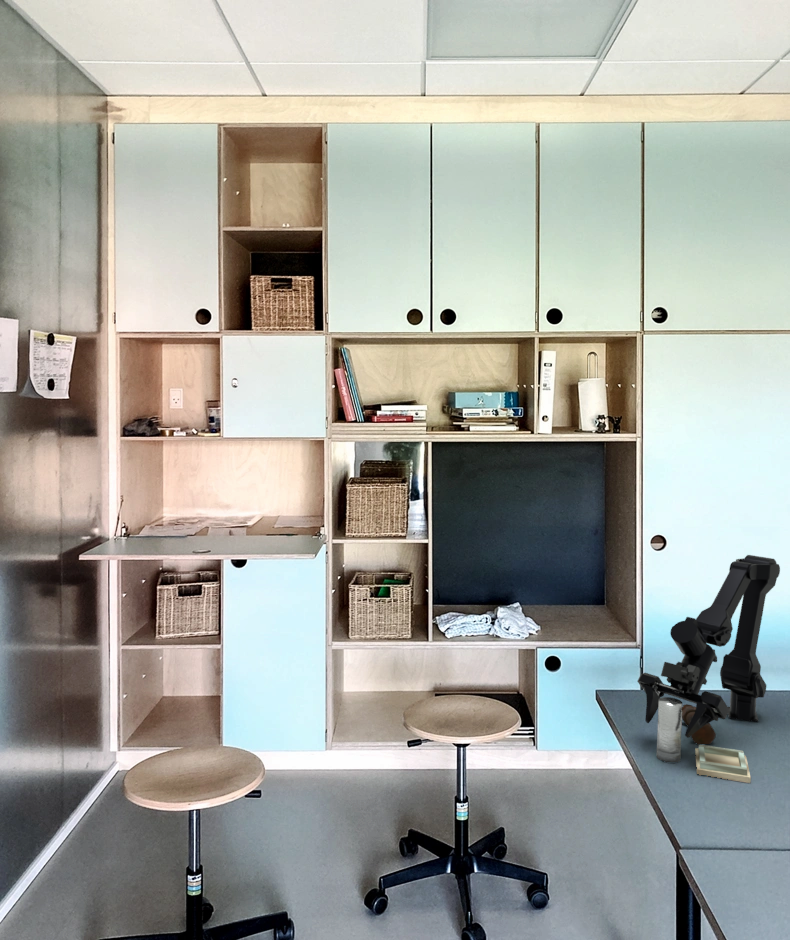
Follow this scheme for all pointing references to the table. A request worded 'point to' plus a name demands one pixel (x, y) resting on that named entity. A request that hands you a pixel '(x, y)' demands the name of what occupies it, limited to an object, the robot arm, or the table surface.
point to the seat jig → (722, 763)
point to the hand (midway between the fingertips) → (666, 729)
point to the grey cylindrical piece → (669, 729)
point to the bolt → (704, 733)
